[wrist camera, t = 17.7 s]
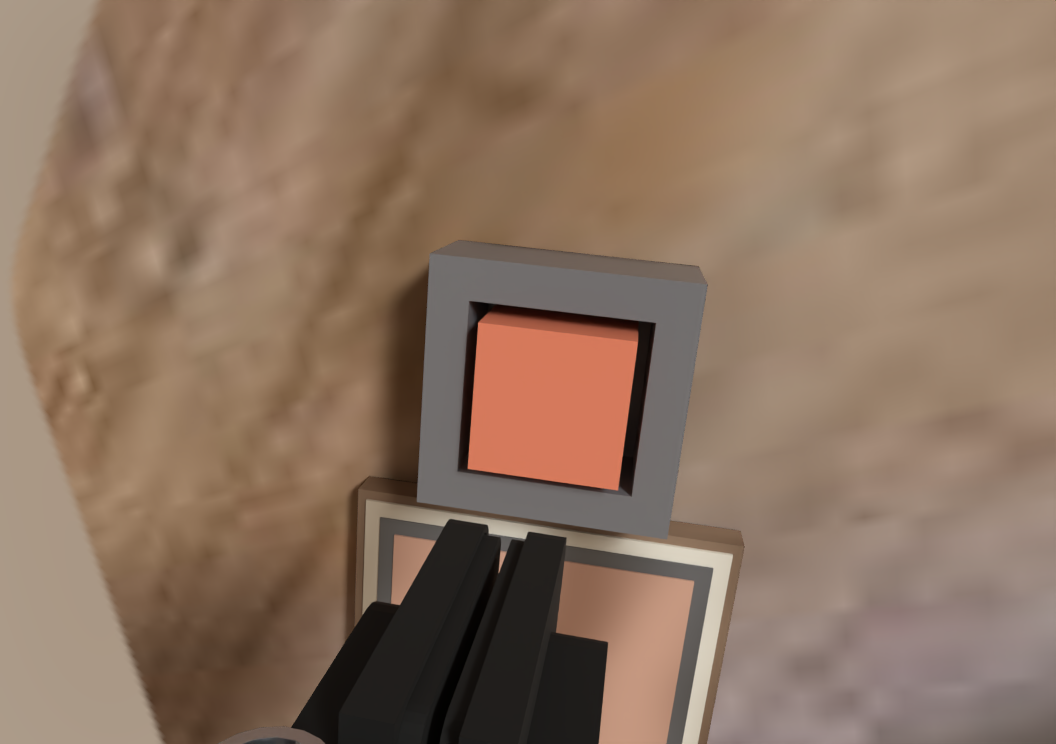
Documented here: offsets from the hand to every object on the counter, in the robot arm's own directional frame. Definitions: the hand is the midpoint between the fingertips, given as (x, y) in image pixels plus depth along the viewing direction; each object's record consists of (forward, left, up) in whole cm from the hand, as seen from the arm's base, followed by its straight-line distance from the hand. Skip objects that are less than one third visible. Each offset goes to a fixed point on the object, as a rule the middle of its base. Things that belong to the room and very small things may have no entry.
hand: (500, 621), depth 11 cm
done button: (0, 0, -12) cm, 12 cm away
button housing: (0, 0, -13) cm, 13 cm away
